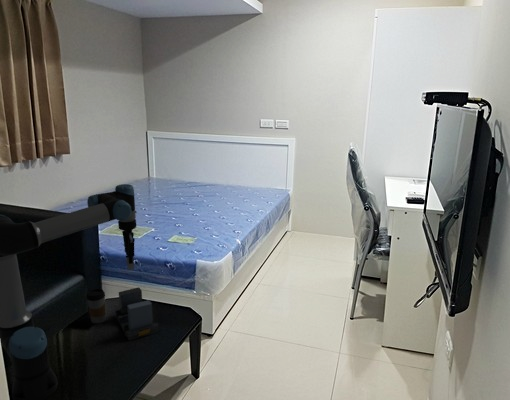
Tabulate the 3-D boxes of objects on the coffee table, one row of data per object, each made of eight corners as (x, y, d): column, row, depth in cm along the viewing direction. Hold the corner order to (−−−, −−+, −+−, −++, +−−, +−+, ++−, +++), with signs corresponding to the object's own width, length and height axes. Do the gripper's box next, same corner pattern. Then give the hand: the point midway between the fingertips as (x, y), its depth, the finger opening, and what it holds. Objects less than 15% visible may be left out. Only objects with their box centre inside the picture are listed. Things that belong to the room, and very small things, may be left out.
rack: (128, 341, 185) (126, 314, 181) (115, 315, 206) (112, 290, 202) (159, 332, 192) (157, 305, 188) (143, 307, 213) (141, 283, 209)
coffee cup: (93, 315, 205) (90, 287, 201) (110, 315, 205) (107, 288, 201) (86, 324, 197) (82, 296, 193) (103, 325, 197) (100, 296, 193)
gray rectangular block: (131, 333, 188) (129, 309, 185) (128, 328, 191) (127, 305, 188) (152, 327, 193) (151, 303, 190) (150, 323, 196) (149, 300, 193)
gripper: (139, 222, 179) (142, 272, 185) (132, 214, 190) (135, 262, 196) (121, 225, 175) (125, 276, 181) (115, 216, 186) (119, 265, 192)
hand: (130, 269), depth 189 cm, fingers closed
